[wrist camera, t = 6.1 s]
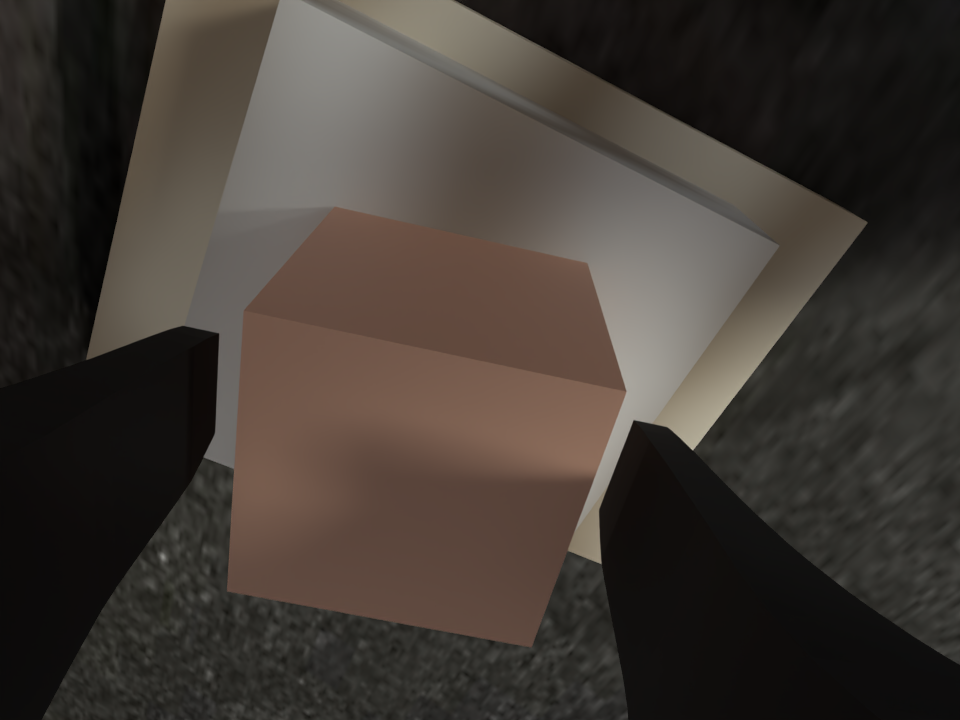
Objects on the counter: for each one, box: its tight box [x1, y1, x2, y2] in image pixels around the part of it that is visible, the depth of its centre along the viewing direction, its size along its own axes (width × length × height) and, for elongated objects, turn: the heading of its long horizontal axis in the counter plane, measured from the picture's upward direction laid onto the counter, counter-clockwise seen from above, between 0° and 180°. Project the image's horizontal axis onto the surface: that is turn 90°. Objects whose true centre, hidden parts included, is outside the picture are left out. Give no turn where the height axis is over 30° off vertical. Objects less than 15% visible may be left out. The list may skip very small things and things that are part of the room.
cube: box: [227, 207, 627, 647], centre depth 12 cm, size 5×5×5 cm
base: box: [86, 0, 868, 564], centre depth 16 cm, size 16×12×4 cm
